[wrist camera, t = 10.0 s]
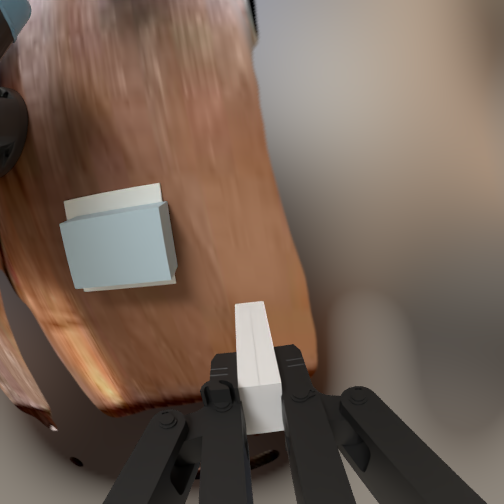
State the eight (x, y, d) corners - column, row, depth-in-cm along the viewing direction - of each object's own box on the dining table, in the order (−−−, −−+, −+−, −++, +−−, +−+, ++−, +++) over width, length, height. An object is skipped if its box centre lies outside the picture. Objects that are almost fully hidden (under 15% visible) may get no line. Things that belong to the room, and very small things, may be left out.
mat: (85, 290, 43) (84, 291, 42) (64, 200, 39) (63, 201, 38) (176, 282, 43) (175, 283, 43) (159, 182, 39) (159, 183, 39)
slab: (177, 266, 42) (89, 275, 42) (167, 201, 39) (76, 216, 39) (171, 279, 37) (75, 289, 37) (158, 206, 35) (59, 223, 34)
